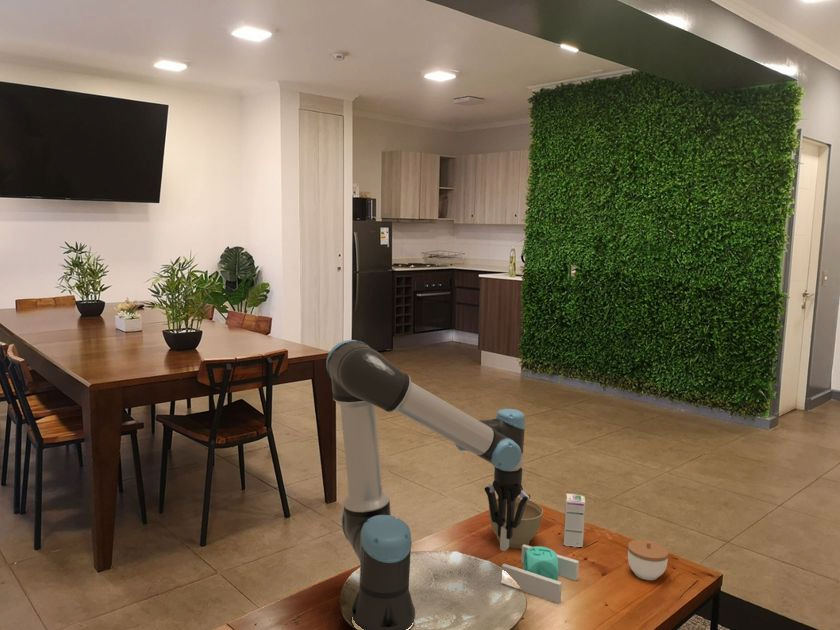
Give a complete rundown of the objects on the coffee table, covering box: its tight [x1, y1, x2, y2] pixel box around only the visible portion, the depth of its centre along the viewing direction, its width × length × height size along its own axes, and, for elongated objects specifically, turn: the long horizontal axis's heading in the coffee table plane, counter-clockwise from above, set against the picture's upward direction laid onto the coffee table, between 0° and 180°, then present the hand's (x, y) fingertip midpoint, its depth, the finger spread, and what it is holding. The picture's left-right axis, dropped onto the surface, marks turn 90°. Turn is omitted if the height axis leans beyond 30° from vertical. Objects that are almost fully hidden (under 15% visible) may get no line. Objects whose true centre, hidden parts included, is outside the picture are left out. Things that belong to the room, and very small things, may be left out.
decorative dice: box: [523, 546, 559, 581], centre depth 174 cm, size 8×8×8 cm
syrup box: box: [563, 493, 586, 548], centre depth 197 cm, size 6×6×14 cm
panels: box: [501, 544, 580, 604], centre depth 174 cm, size 16×15×5 cm
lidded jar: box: [627, 539, 670, 581], centre depth 180 cm, size 11×11×9 cm
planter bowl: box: [488, 496, 544, 549], centre depth 196 cm, size 16×16×11 cm
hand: (504, 548), depth 180 cm, fingers closed
